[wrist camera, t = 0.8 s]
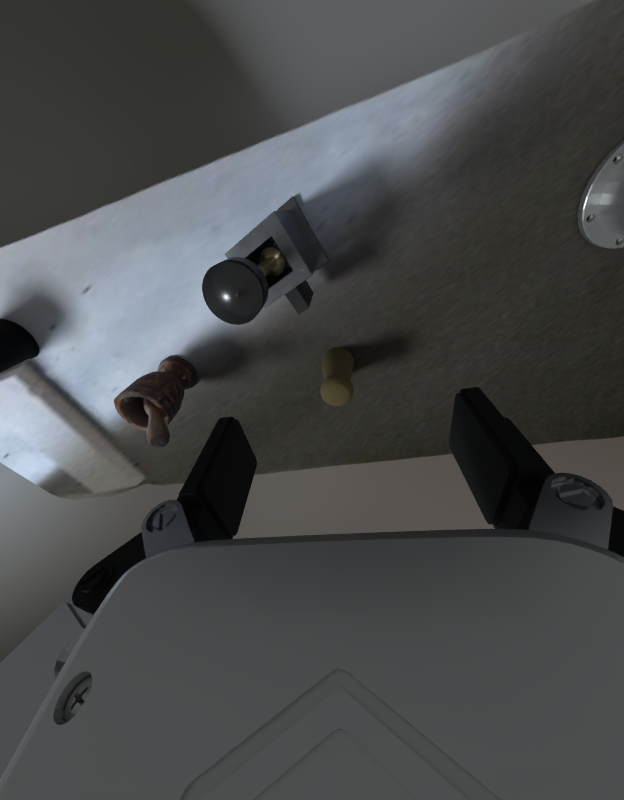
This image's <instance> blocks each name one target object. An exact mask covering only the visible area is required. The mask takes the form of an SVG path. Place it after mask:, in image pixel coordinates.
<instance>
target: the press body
mask: <svg viewBox="0 0 624 800" xmlns="http://www.w3.org/2000/svg"><path fill="white" fill-rule="evenodd" d="M268 247H276V248H278V249H279V250H281V252H282V253H283V255H284V257H285V261H286V264H285V268H284V270H283V271H282V272H281V273H280V274H279V275H277V276H270V275H266V276H265V278H266V280H267V283H268V298H267V301H266V303H265V305H264V306H263V307H264V308H266V307H268V306H269V305H270V304H272V303H273V302H275V301H276V300H278V299H279V298H280V297H282V296H283V295H286V297H287V298H288V300H289V301H290V303H291V304H292V305H293V307H294V308H295V310H296V311H297V313H298V314H300V313H301V312H303V311H305V310H306V309H308V308H309V306H310V303H311V300H312V296H313V291H312V289H311V288H310V286H309V285H308V283H307V281H306V279H308V278H309V277H310V276H312V274H313V272H314V271H315V270H317V269H318V268H319V267H321V266H322V265H324V264H325V263H326V262H328V261H329V260H328V258H327V256H326V255H325V253H324V251H323V249H322V247H321V246H320V244H319V242H318V240H317V238H316V237H315V235H314V233H313V231H312V229H311V228H310V226H309V224H308V222H307V220H306V219H305V217H304V215H303V213H302V211H301V210H300V208H299V206H298V204H297V202H296V201H295V199H294V197H292V198H290V199H289V200H288V201H287V202H286V203H285V204H283V205H282V206H281V207H280V208H279V209H278V210H277V211H274V212H273V213H271V214H270V215H269V216H268V217H267V218H266V219H265V220H263V221H262V222H261V223H260V224H259V225H258V226H257V227H255V228H254V229H253V230H252V231H251V232H250V233H249V234H247V235H246V236H245V237H244V238H243V239H242V240H241V241H239V242H238V243H237V244H236V245H235V246H234V247H232V248H231V249H230V250H229V251H228V252H227V253H226V254H225V255H226V257H227V258H228V259H229V258H232V257H241V258H245V259H248V260H250V261H252V262H253V263H255V264H256V265H257V266H258V265H259V264H260V263H259V258H260V254H261V252H262V251H263V250H264V249H266V248H268Z"/></svg>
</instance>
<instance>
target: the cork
mask: <svg viewBox="0 0 624 800" xmlns="http://www.w3.org/2000/svg"><path fill="white" fill-rule="evenodd" d="M321 363H322V370H323V377H324V381H323V383H322V385H321V390H320V392H321V396H322V398H323V400H324V401H325V402H326V403H327V404H329V405H331V406H342V405H345V404H346V403H348V402H349V401H350V400H351V398H352V396H353V385H352V383H351V375H352V370H353V365H354V359H353V356H352V354H351V353H350V352H349V351H347V350H345V349H343V348H333V349H330V350H328V351H327V352H326V353H325V354H324V355H323V357H322V362H321Z"/></svg>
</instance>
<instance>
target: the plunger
mask: <svg viewBox="0 0 624 800" xmlns="http://www.w3.org/2000/svg"><path fill="white" fill-rule="evenodd" d="M259 263H260V264H259V265H258V266H257V265H256V264H255V263H253V262H252V261H250V260H248V259H245V258H241V257H232V258H229V259H227V260H224V261H222V262H220V263H218V264H216V265H214V266H213V267H211V268H210V269H209V270H208V271H207V273H206V274H205V276H204V279H203V284H202V291H203V296H204V299H205V302H206V304H207V306H208V307H209V309H210V310H211V311H212V312H213V313H214V314H215V315H216V316H217V317H218V318H220V319H221V320H223V321H225V322H227V323H230V324H237V325H239V324H245V323H248V322H250V321H251V320H253V319H254V318H255V317H256V315H257V314H258V313H259V312H260V310H261V309H262V308H263V306H264V305H265V303H266V301H267V298H268V283H267V280H266V278H265V276H266V275H270V276H277V275H279V274H280V273H281V272H282V271H283V270H284V268H285V264H286V261H285V257H284V255H283V253H282V252H281V250H279V249H278V248H276V247H268V248H266V249H264V250H263V251H262V252H261V254H260V258H259Z"/></svg>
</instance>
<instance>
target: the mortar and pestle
mask: <svg viewBox="0 0 624 800" xmlns="http://www.w3.org/2000/svg"><path fill="white" fill-rule="evenodd" d="M196 382H197V375H196V371H195V370H194V368H193V366H192V365H191V364H190V363H188V362H187V361H185V360H183V359H181V358H178V357H168V358H166V359H164V360H163V361H162V362H161V363H160V365H159V367H158V371H157V372H152V373H149V374H147V375H144V376H142V377H140V378H139V379H137V380H136V381H135V382H133V383H132V384H131V385H130V386H129V387H127V388H126V389H125V390H124V391H122V392H121V393H120V394H119V395H118V396H117V397H116V398H115V399H114V403H115V407H116V410H117V412H118V413H119V414H120V416H121V417H122V418H123V419H125V420H126V421H127V422H128V423H129V424H131V425H133V426H134V427H136V428H139V429H142V430H145V431H147V439H148V442H149V444H151V445H152V446H153V447H156V448H161V447H164V446H165V445H167V443H168V442H169V437H170V435H169V431H168V428H167V425H168V424H169V423H170V422H171V421H172V419H173V418H174V416H175V415H176V414H177V412H178V411H179V409H180V407H181V403H182V400H183V397H184V390H185V389H189V388H192V387H193V386H195V384H196Z"/></svg>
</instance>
